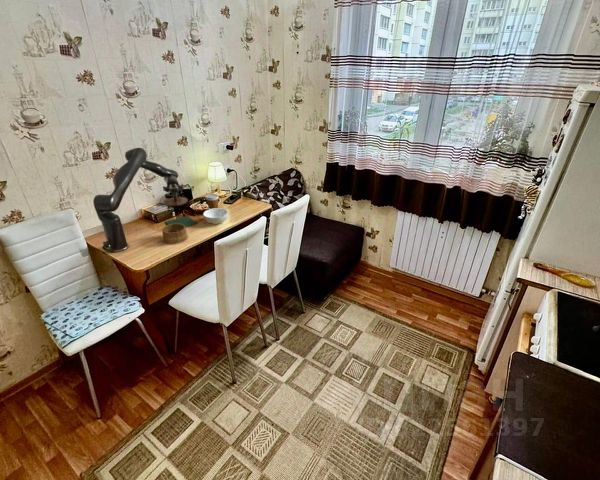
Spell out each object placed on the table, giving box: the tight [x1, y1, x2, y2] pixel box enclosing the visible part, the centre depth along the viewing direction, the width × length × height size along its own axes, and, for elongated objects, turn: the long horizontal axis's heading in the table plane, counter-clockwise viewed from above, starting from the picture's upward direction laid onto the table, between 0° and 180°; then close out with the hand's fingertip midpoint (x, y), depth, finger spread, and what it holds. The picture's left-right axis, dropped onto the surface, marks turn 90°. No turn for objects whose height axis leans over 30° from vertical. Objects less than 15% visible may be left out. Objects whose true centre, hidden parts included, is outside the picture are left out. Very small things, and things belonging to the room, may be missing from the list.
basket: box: [161, 223, 188, 245], centre depth 191 cm, size 14×14×8 cm
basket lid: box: [163, 187, 189, 207], centre depth 199 cm, size 15×15×10 cm
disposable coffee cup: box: [205, 193, 220, 209], centre depth 230 cm, size 10×10×12 cm
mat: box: [164, 215, 198, 228], centre depth 212 cm, size 16×16×1 cm
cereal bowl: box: [202, 207, 229, 225], centre depth 214 cm, size 17×17×7 cm
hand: (174, 191), depth 195 cm, fingers closed on basket lid, 2 cm apart
